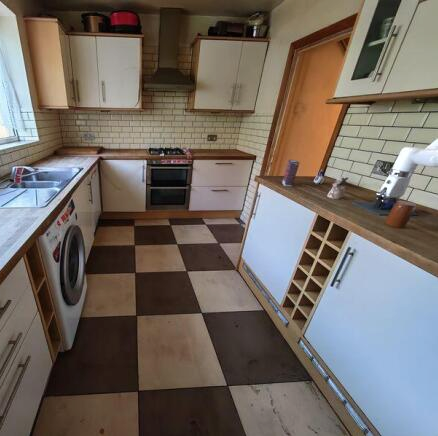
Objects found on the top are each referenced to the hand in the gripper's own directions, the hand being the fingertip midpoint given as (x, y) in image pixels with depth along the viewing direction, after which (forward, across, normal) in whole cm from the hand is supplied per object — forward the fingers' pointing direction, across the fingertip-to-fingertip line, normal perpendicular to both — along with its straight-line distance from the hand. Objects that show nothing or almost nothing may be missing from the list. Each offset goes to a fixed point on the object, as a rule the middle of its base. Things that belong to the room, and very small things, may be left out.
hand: (382, 207), depth 117 cm
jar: (+1, -16, -16) cm, 22 cm away
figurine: (+1, -9, +19) cm, 21 cm away
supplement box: (+1, -18, +45) cm, 48 cm away
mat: (+1, 0, 0) cm, 1 cm away
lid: (-3, 0, 0) cm, 3 cm away
